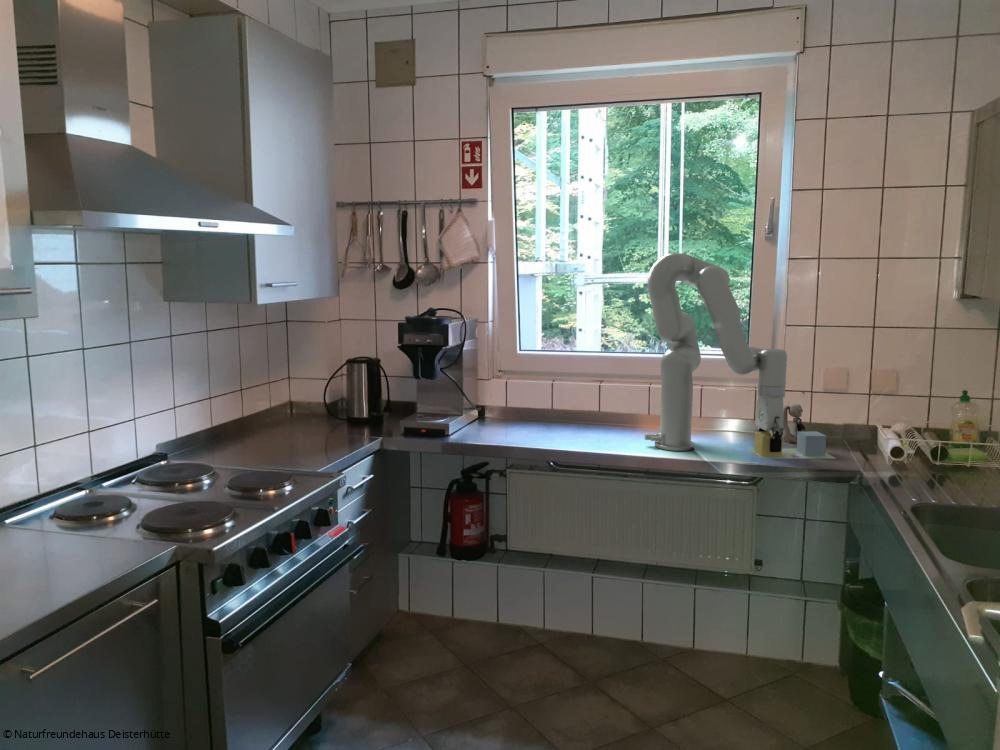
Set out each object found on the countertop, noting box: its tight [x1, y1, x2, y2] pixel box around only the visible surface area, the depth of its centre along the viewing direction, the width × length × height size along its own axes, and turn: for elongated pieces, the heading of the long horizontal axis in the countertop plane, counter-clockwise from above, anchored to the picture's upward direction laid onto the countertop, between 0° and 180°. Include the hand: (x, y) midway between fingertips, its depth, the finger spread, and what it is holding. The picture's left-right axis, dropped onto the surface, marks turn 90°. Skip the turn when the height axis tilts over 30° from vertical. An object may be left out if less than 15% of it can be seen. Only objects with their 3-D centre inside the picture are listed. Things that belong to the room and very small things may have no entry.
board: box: [747, 448, 837, 460], centre depth 230 cm, size 22×12×1 cm, turn 93°
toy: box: [782, 401, 808, 444], centre depth 247 cm, size 9×8×15 cm
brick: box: [753, 431, 784, 456], centre depth 229 cm, size 6×6×6 cm
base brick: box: [795, 430, 827, 456], centre depth 230 cm, size 6×6×6 cm
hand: (768, 448), depth 230 cm, fingers open, 9 cm apart
